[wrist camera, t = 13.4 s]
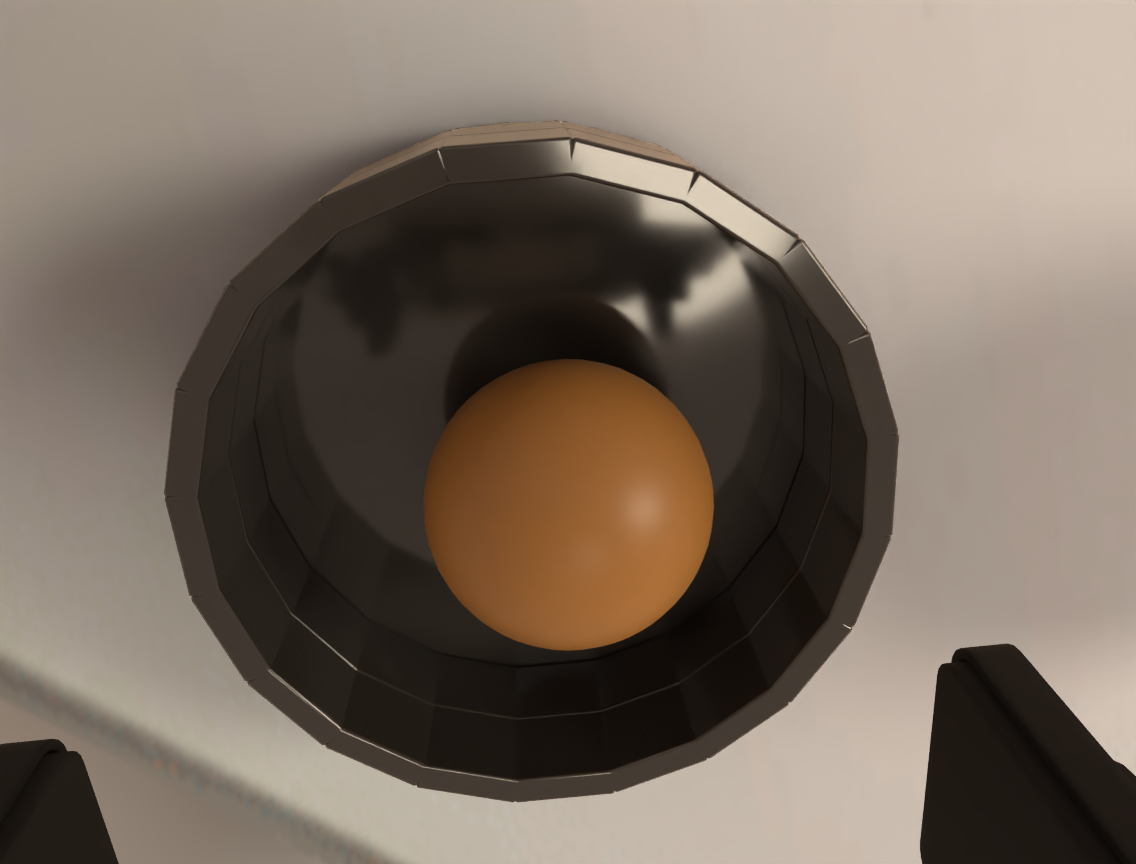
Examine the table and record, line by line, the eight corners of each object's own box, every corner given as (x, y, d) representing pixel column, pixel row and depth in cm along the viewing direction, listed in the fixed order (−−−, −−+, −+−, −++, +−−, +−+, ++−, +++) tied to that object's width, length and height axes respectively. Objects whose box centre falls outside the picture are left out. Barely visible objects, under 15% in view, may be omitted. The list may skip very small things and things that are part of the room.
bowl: (294, 692, 24) (247, 828, 20) (176, 147, 19) (79, 174, 15) (814, 645, 24) (877, 769, 20) (833, 97, 19) (922, 109, 15)
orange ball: (424, 566, 22) (464, 745, 17) (390, 339, 19) (425, 472, 14) (657, 521, 23) (756, 676, 18) (655, 301, 20) (771, 412, 15)
